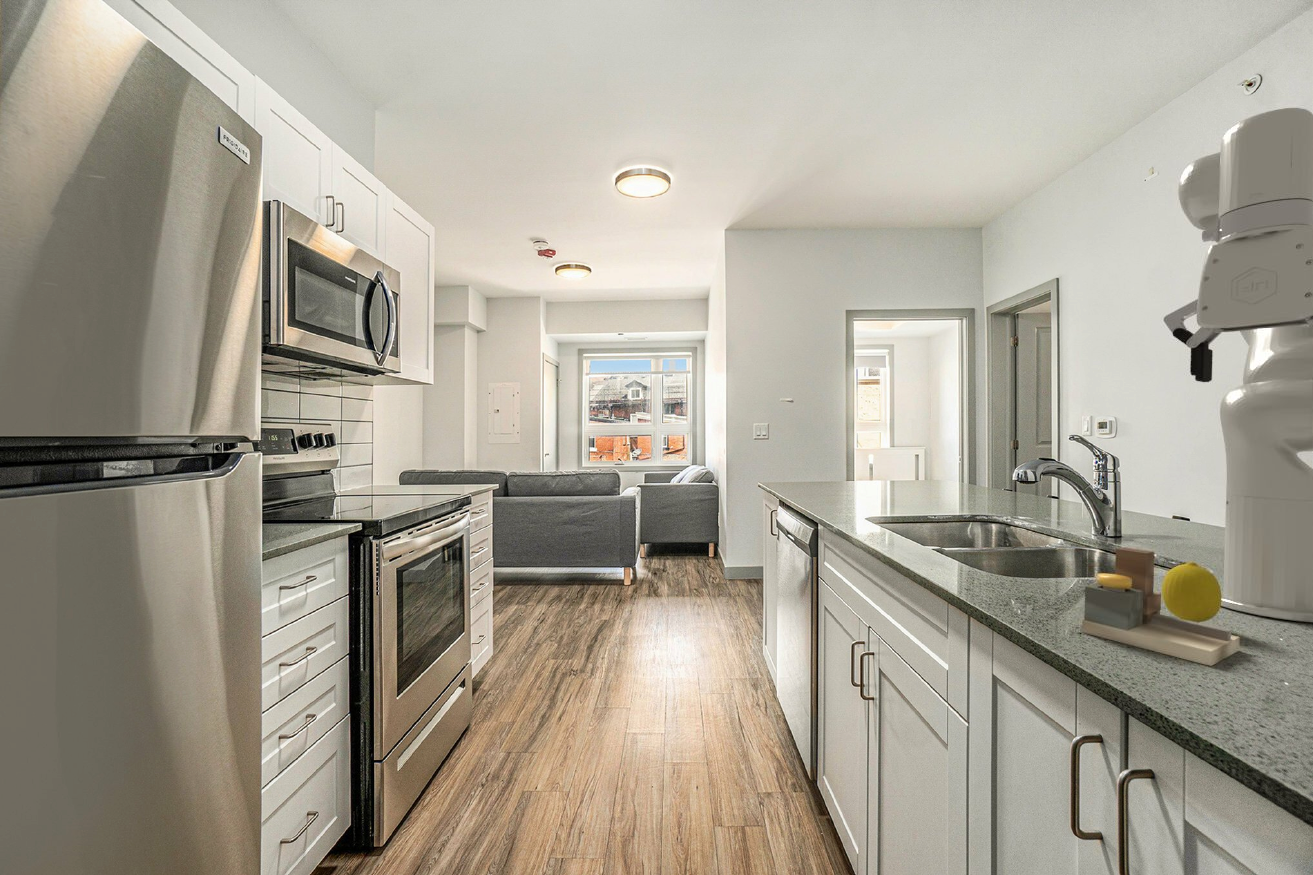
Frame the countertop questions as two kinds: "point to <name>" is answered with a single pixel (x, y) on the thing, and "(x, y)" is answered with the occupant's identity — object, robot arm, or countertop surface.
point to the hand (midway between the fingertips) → (1259, 378)
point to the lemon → (1191, 593)
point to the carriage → (1140, 576)
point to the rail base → (1153, 627)
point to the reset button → (1114, 582)
